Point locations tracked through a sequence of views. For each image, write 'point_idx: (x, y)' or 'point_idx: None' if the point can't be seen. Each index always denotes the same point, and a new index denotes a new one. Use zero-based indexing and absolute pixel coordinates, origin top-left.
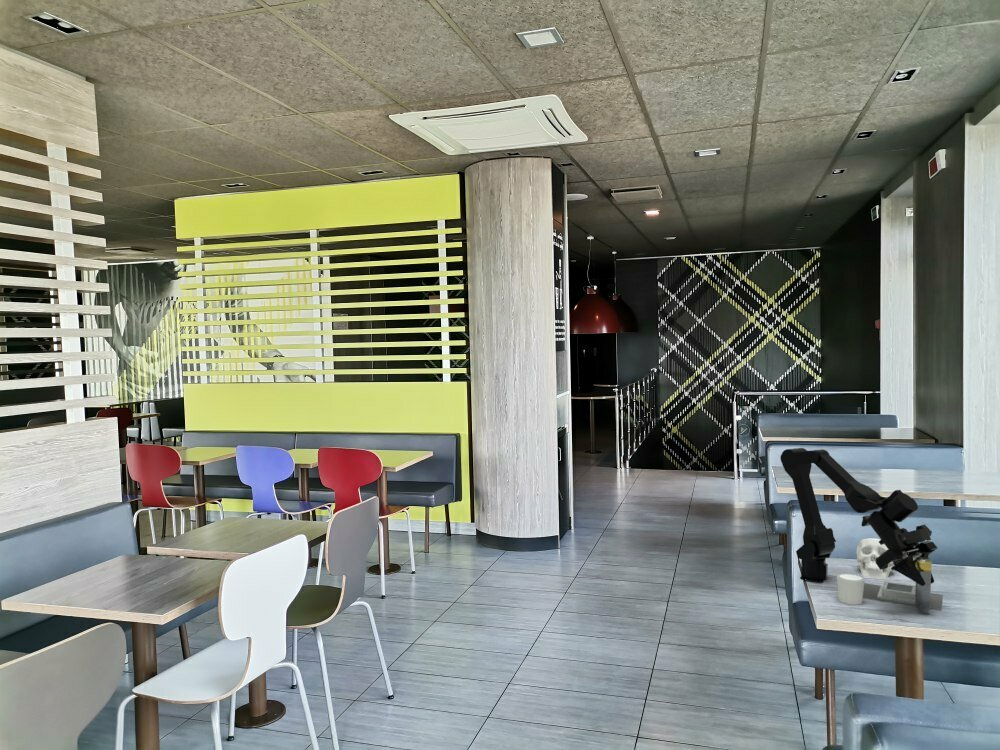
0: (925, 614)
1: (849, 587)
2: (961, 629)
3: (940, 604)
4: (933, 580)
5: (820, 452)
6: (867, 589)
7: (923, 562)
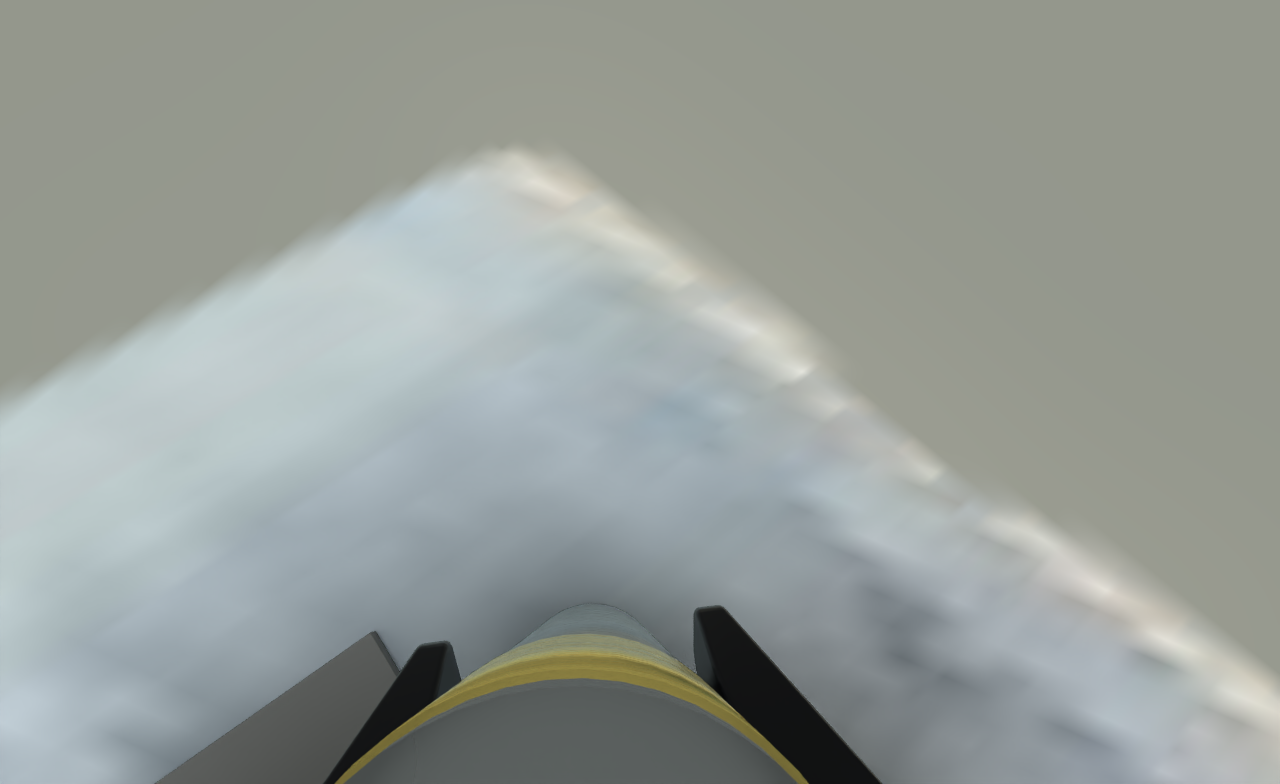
0: None
1: None
2: (613, 286)
3: (182, 780)
4: (434, 653)
5: None
6: None
7: None
